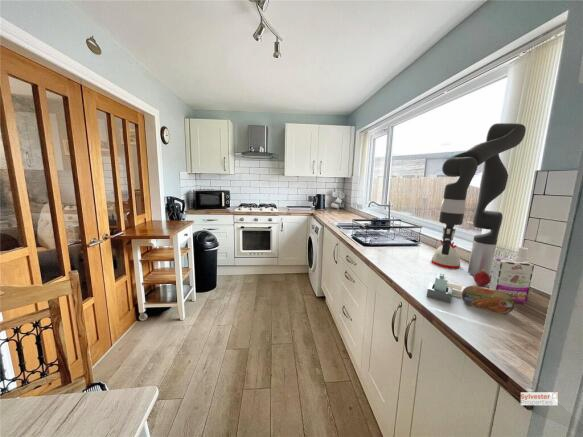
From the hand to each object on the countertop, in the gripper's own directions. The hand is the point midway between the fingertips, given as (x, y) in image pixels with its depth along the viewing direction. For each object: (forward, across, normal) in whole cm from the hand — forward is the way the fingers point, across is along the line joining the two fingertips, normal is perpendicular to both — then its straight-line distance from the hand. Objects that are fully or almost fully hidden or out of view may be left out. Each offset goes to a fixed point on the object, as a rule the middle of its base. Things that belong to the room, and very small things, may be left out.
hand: (445, 251), depth 93 cm
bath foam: (+20, +29, -27) cm, 44 cm away
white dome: (+20, +49, 0) cm, 53 cm away
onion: (+20, +25, -15) cm, 35 cm away
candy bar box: (+20, +17, -23) cm, 35 cm away
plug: (+19, 0, 0) cm, 19 cm away
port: (+19, 0, 0) cm, 19 cm away
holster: (+19, +8, -5) cm, 22 cm away
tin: (+20, +1, -15) cm, 25 cm away
